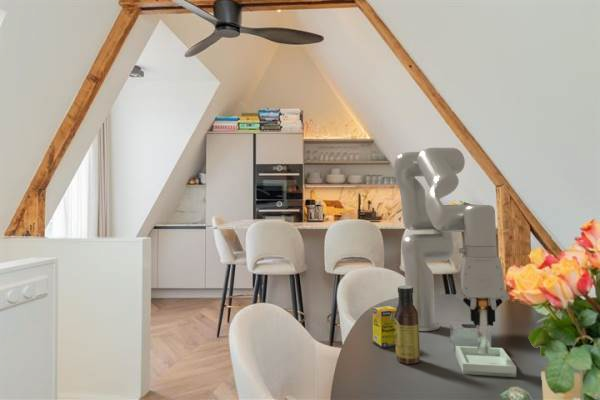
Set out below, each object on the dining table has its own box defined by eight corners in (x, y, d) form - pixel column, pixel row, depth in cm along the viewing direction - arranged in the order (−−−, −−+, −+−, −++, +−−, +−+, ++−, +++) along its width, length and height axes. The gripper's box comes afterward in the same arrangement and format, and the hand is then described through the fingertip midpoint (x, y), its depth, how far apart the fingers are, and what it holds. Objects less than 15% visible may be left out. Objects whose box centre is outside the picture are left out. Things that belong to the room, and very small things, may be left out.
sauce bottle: (402, 355, 120) (400, 283, 120) (424, 360, 116) (422, 285, 116) (391, 362, 115) (389, 287, 115) (413, 367, 111) (411, 289, 111)
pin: (478, 353, 110) (476, 297, 110) (476, 349, 113) (474, 295, 113) (491, 354, 109) (489, 298, 110) (488, 350, 112) (487, 295, 113)
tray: (463, 373, 106) (462, 363, 106) (455, 354, 119) (455, 345, 119) (516, 377, 103) (516, 366, 103) (502, 357, 117) (502, 348, 117)
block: (453, 350, 123) (453, 329, 123) (450, 341, 131) (450, 321, 131) (491, 352, 121) (490, 330, 121) (485, 343, 129) (485, 323, 129)
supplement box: (381, 349, 126) (380, 311, 126) (372, 343, 132) (371, 306, 132) (400, 347, 127) (399, 309, 128) (390, 341, 133) (389, 305, 133)
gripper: (449, 254, 110) (451, 326, 109) (518, 254, 106) (521, 329, 106) (445, 251, 117) (447, 319, 117) (511, 251, 114) (513, 321, 113)
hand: (482, 323), depth 111 cm, fingers closed on pin, 3 cm apart
